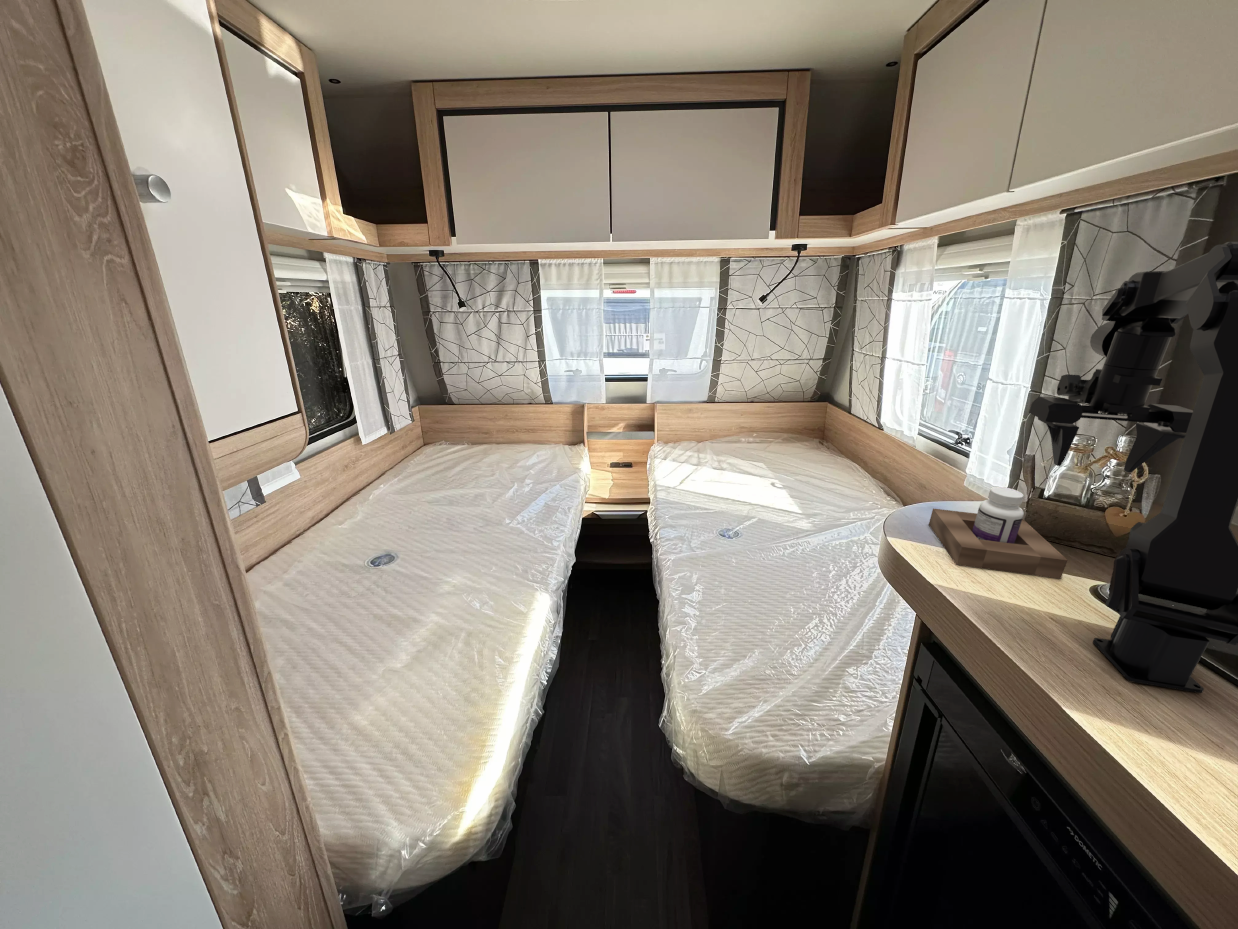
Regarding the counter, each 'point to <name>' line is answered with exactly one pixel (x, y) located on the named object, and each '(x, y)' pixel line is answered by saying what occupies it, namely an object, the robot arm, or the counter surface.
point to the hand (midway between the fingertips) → (1091, 468)
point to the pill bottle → (999, 516)
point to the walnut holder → (996, 547)
